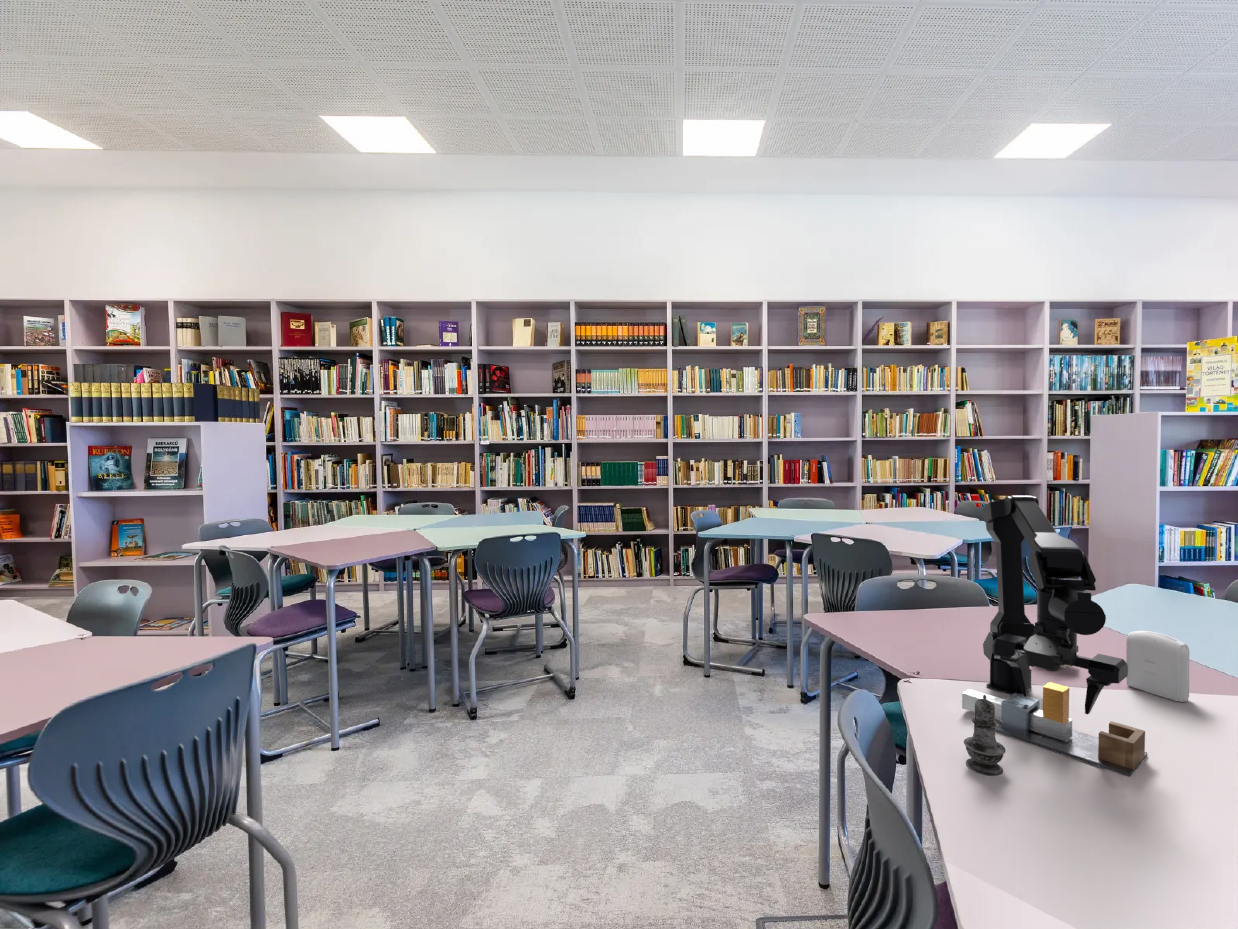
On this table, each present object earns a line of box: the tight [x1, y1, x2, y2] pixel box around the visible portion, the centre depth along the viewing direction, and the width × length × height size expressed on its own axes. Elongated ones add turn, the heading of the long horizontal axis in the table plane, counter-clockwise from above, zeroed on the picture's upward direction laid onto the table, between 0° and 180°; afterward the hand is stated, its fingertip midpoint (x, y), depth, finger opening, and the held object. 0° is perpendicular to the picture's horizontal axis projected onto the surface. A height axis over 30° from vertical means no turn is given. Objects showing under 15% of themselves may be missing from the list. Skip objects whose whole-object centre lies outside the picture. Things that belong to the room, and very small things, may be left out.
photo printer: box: [1125, 630, 1190, 703], centre depth 127 cm, size 10×4×12 cm, turn 20°
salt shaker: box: [963, 693, 1007, 777], centre depth 100 cm, size 6×6×12 cm
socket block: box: [1098, 720, 1146, 769], centre depth 101 cm, size 4×7×4 cm
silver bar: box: [961, 681, 1073, 741], centre depth 114 cm, size 17×3×8 cm, turn 38°
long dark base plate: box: [995, 693, 1148, 778], centre depth 107 cm, size 20×10×5 cm, turn 38°
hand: (1055, 704), depth 108 cm, fingers open, 9 cm apart
